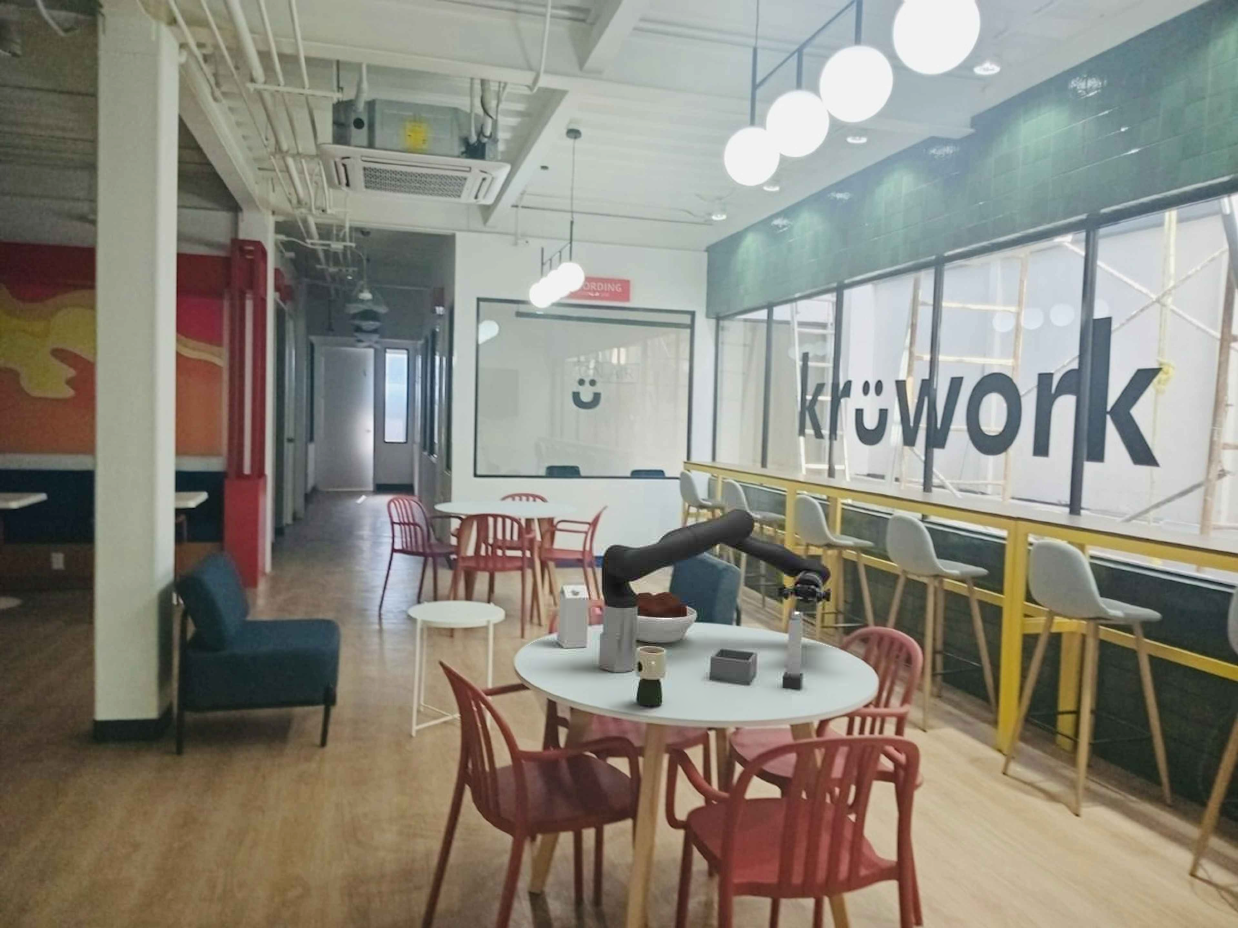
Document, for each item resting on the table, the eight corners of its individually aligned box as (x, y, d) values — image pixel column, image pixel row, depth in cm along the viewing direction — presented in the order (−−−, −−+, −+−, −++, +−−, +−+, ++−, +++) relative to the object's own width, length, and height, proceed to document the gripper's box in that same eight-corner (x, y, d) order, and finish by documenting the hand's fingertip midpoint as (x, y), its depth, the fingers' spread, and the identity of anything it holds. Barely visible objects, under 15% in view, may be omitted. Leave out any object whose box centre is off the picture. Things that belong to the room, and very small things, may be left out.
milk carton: (556, 642, 259) (559, 579, 258) (579, 641, 262) (582, 579, 261) (563, 648, 252) (566, 584, 252) (586, 647, 255) (589, 583, 254)
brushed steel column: (800, 689, 222) (804, 614, 221) (782, 687, 223) (786, 612, 222) (802, 684, 227) (806, 610, 226) (784, 682, 228) (788, 608, 227)
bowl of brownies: (655, 654, 251) (657, 602, 250) (598, 636, 269) (600, 588, 268) (712, 643, 267) (714, 594, 267) (655, 627, 286) (657, 581, 285)
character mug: (632, 696, 210) (634, 643, 210) (661, 697, 210) (664, 644, 210) (635, 710, 199) (638, 655, 199) (666, 711, 200) (669, 656, 199)
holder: (749, 684, 224) (750, 661, 224) (709, 679, 227) (710, 656, 227) (756, 674, 234) (757, 652, 234) (717, 669, 238) (718, 647, 237)
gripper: (784, 572, 252) (776, 581, 237) (834, 577, 248) (829, 586, 232) (782, 598, 253) (774, 608, 237) (832, 603, 248) (828, 613, 233)
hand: (801, 597), depth 235 cm, fingers open, 8 cm apart
